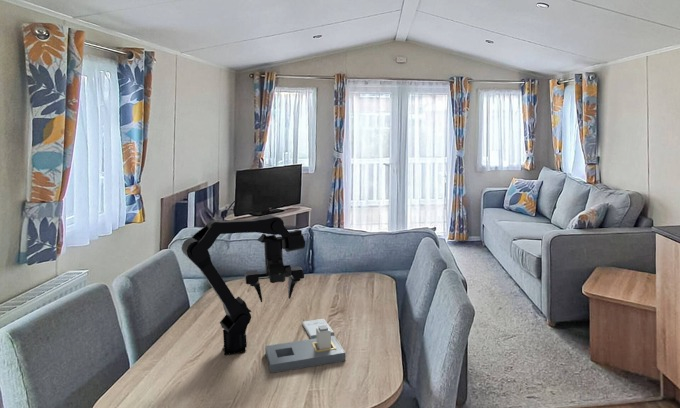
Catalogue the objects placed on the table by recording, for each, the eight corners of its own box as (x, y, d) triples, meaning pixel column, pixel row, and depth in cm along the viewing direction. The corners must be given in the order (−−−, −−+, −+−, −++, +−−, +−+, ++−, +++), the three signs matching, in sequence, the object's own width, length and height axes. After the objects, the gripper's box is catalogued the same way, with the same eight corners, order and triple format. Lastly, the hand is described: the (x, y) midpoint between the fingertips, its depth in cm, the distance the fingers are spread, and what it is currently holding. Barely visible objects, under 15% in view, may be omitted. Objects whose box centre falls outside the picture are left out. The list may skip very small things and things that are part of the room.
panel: (270, 373, 120) (270, 364, 120) (265, 353, 131) (265, 345, 131) (345, 360, 126) (345, 351, 126) (334, 343, 138) (334, 335, 137)
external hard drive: (310, 340, 141) (302, 325, 153) (334, 336, 144) (324, 322, 155) (310, 335, 141) (302, 321, 152) (334, 331, 143) (324, 318, 155)
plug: (319, 357, 128) (318, 330, 127) (316, 352, 132) (316, 325, 130) (331, 355, 129) (330, 328, 128) (328, 350, 133) (327, 324, 132)
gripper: (246, 263, 128) (248, 312, 130) (307, 257, 133) (308, 305, 136) (243, 254, 139) (245, 300, 141) (300, 249, 144) (301, 293, 146)
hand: (275, 300), depth 140 cm, fingers open, 9 cm apart
